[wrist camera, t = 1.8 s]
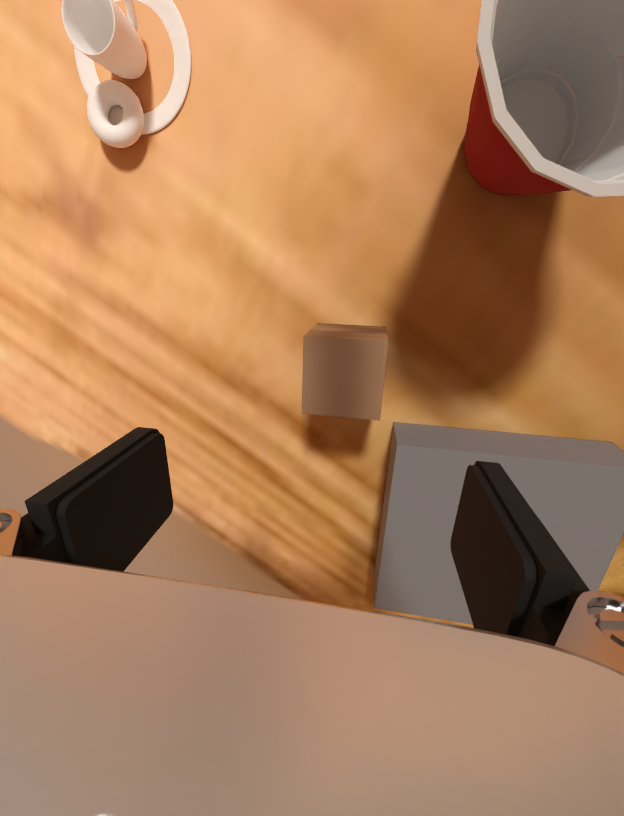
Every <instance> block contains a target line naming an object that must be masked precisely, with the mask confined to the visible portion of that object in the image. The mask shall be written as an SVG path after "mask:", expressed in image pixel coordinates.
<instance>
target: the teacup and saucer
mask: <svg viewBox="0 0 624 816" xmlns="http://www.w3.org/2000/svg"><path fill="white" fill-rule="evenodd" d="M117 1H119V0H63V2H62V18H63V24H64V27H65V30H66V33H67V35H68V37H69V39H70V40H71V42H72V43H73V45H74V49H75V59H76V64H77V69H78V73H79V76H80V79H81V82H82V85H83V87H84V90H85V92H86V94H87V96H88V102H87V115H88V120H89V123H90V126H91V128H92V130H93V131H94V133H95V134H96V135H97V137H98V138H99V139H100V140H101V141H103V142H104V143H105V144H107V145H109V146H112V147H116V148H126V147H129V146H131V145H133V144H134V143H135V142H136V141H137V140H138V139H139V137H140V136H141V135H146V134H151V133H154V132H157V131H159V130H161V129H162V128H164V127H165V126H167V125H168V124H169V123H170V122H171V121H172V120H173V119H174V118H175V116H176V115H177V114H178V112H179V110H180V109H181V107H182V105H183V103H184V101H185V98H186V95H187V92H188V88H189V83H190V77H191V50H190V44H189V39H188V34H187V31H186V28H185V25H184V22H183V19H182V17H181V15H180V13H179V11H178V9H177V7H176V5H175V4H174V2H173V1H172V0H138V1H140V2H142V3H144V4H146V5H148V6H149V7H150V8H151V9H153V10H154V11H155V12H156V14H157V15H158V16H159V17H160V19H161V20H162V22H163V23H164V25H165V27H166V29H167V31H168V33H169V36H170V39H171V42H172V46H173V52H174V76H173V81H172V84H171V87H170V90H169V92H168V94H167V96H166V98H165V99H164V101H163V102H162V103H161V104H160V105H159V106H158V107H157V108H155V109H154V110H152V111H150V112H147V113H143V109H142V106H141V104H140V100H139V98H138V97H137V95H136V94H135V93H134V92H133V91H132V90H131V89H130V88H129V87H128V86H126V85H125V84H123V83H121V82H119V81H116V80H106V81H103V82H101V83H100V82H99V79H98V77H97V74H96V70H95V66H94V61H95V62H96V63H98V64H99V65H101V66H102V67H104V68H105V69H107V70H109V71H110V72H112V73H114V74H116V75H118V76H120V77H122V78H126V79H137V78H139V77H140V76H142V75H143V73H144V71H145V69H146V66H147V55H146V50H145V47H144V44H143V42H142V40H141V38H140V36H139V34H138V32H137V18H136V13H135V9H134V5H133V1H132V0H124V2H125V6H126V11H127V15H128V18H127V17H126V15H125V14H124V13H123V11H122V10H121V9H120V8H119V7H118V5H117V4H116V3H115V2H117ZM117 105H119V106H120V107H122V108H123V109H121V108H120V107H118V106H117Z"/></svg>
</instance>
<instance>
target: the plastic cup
mask: <svg viewBox="0 0 624 816" xmlns="http://www.w3.org/2000/svg"><path fill="white" fill-rule="evenodd" d="M476 52H477V56H478V60H479V68H478V72H477V77H476V81H475V85H474V90H473V94H472V98H471V103H470V111H469V119H468V123H467V129H466V137H465V145H464V152H465V156H466V160H467V165H468V169H469V172H470V173H471V174H472V176H473V177H474V178H475V179H476V181H477V182H478V183H479V184H480V186H481V187H483V188H485V189H488V190H490V191H492V192H494V193H497V194H499V195H506V194H512V195H517V194H541V193H550V192H559V191H567V190H574V191H576V192H578V193H580V194H583V195H585V196H624V0H482V3H481V12H480V21H479V29H478V38H477V48H476Z"/></svg>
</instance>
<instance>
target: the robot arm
mask: <svg viewBox="0 0 624 816" xmlns="http://www.w3.org/2000/svg"><path fill="white" fill-rule="evenodd" d="M25 504H26V506H27V510H28V514H26V515H24V516H23V517H21V515H20V513H19V512H18V511H16V510H13V509H0V816H624V598H623V597H620V596H618V595H615V594H611V593H608V592H604V591H593V590H592V591H590V590H589V588H588V587H587V585H586V584H585V583H584V581H583V580H582V578H581V577H580V576H579V574H578V573H577V571H576V570H575V569H574V567H573V566H572V564H571V563H570V561H569V560H568V559H567V557H566V556H565V554H564V553H563V552H562V550H561V549H560V547H559V546H558V545H557V543H556V542H555V540H554V539H553V538H552V536H551V535H550V533H549V532H548V530H547V529H546V528H545V526H544V525H543V523H542V522H541V521H540V519H539V518H538V517H537V516H536V514H535V513H534V511H533V510H532V508H531V507H530V506H529V504H528V503H527V501H526V500H525V499H524V497H523V496H522V494H521V493H520V491H519V490H518V489H517V487H516V486H515V484H514V483H513V482H512V480H511V479H510V477H509V476H508V475H507V473H506V472H505V470H504V469H503V467H502V466H501V465H500V464H499V463H495V462H485V461H476V462H475V464H474V465H469V466H468V467H467V470H466V474H465V479H464V483H463V488H462V492H461V497H460V501H459V505H458V510H457V514H456V519H455V523H454V528H453V532H452V536H451V543H450V546H451V553H452V557H453V560H454V563H455V567H456V570H457V573H458V576H459V580H460V583H461V586H462V590H463V593H464V596H465V600H466V603H467V606H468V609H469V613H470V616H471V619H472V623H473V626H474V628H470V627H465V626H460V625H453V624H447V623H441V622H435V621H429V620H423V619H417V618H411V617H405V616H399V615H393V614H387V613H381V612H375V611H368V610H362V609H356V608H350V607H344V606H338V605H332V604H326V603H320V602H314V601H307V600H301V599H295V598H289V597H283V596H276V595H270V594H264V593H257V592H251V591H245V590H239V589H232V588H226V587H219V586H213V585H207V584H200V583H194V582H188V581H181V580H175V579H168V578H162V577H155V576H148V575H142V574H135V573H129V572H123V571H124V570H125V569H126V568H127V566H128V565H129V564H130V563H131V562H132V561H133V559H134V558H135V557H136V556H137V554H138V553H139V552H140V551H141V550H142V548H143V547H144V546H145V545H146V544H147V542H148V541H149V540H150V539H151V537H152V536H153V535H154V533H156V531H157V530H158V529H159V528H160V527H161V525H162V524H163V523H164V522H165V521H166V519H167V518H168V517H169V516H170V514H171V512H172V509H173V498H172V491H171V484H170V476H169V469H168V462H167V455H166V447H165V440H164V436H163V435H162V434H160V433H159V431H158V430H157V429H152V428H141V427H138V428H135V429H134V430H132V431H131V432H129V433H128V434H126V435H125V436H123V437H122V438H120V439H119V440H117V441H116V442H114V443H113V444H111V445H110V446H108V447H106V448H105V449H103V450H102V451H100V452H99V453H97V454H96V455H94V456H93V457H91V458H90V459H88V460H87V461H85V462H84V463H82V464H81V465H79V466H78V467H76V468H74V469H73V470H71V471H70V472H68V473H67V474H65V475H64V476H62V477H61V478H59V479H58V480H56V481H55V482H53V483H52V484H50V485H49V486H47V487H46V488H44V489H42V490H41V491H39V492H38V493H36V494H35V495H33V496H32V497H30V498H29V499H27V500H26V501H25Z"/></svg>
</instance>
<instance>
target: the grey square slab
mask: <svg viewBox="0 0 624 816" xmlns="http://www.w3.org/2000/svg"><path fill="white" fill-rule="evenodd" d="M476 461H485V462H495V463H499V464H500V465H501V466H502V467H503V469H504V470H505V472H506V473H507V475H508V476H509V477H510V479H511V480H512V482H513V483H514V484H515V486H516V487H517V489H518V490H519V491H520V493H521V494H522V496H523V497H524V499H525V500H526V501H527V503H528V504H529V506H530V507H531V508H532V510H533V511H534V513H535V514H536V516H537V517H538V518H539V519H540V521H541V522H542V523H543V525H544V526H545V528H546V529H547V530H548V532H549V533H550V535H551V536H552V538H553V539H554V540H555V542H556V543H557V545H558V546H559V547H560V549H561V550H562V552H563V553H564V554H565V556H566V557H567V559H568V560H569V561H570V563H571V564H572V566H573V567H574V569H575V570H576V571H577V573H578V574H579V576H580V577H581V578H582V580H583V581H584V583H585V584H586V585H587V587H588V588H589V590H590V591H592V590H593V591H598V589H599V587H600V584H601V582H602V580H603V578H604V576H605V574H606V571H607V569H608V567H609V565H610V563H611V560H612V558H613V556H614V554H615V552H616V549H617V547H618V545H619V543H620V541H621V538H622V536H623V534H624V450H623V449H621V448H620V447H618V446H617V445H615V444H614V443H613V442H604V441H593V440H582V439H571V438H561V437H550V436H539V435H528V434H517V433H506V432H495V431H484V430H473V429H462V428H452V427H441V426H430V425H419V424H408V423H397V422H394V423H393V431H392V439H391V446H390V454H389V462H388V469H387V477H386V485H385V493H384V500H383V508H382V516H381V523H380V531H379V539H378V546H377V554H376V562H375V569H374V602H375V608H377V609H383V610H389V611H395V612H401V613H407V614H413V615H419V616H425V617H431V618H437V619H443V620H450V621H456V622H462V623H468V624H473V623H472V619H471V616H470V613H469V609H468V606H467V603H466V600H465V596H464V593H463V590H462V586H461V583H460V580H459V576H458V573H457V570H456V567H455V563H454V560H453V557H452V553H451V546H450V543H451V536H452V532H453V528H454V523H455V519H456V514H457V510H458V505H459V501H460V497H461V492H462V488H463V483H464V479H465V474H466V470H467V467H468V466H469V465H474V464H475V462H476Z"/></svg>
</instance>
